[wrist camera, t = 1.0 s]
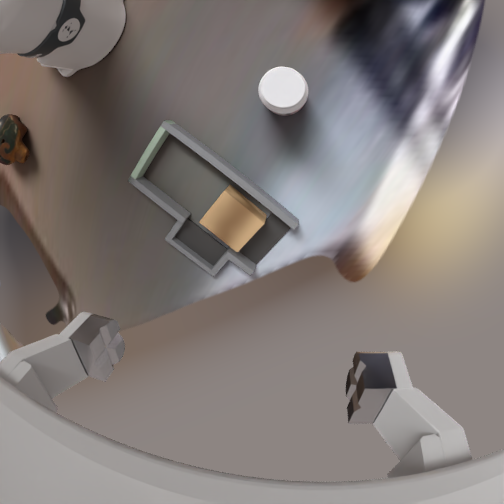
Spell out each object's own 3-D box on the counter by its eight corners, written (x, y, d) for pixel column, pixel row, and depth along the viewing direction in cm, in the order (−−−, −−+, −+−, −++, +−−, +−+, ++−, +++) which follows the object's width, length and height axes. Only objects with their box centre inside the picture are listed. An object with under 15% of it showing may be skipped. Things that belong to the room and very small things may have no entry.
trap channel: (123, 200, 44) (115, 204, 42) (171, 120, 38) (164, 120, 36) (234, 286, 49) (231, 294, 46) (298, 219, 42) (298, 225, 40)
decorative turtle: (11, 102, 38) (-15, 105, 30) (46, 131, 41) (19, 137, 34) (-2, 140, 41) (-26, 147, 34) (31, 171, 45) (6, 182, 38)
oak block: (206, 213, 44) (199, 222, 40) (230, 184, 41) (224, 190, 38) (241, 241, 45) (237, 252, 42) (266, 214, 43) (264, 223, 39)
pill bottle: (298, 121, 36) (301, 120, 27) (258, 109, 36) (248, 105, 27) (310, 83, 33) (316, 71, 25) (270, 71, 33) (263, 56, 25)
